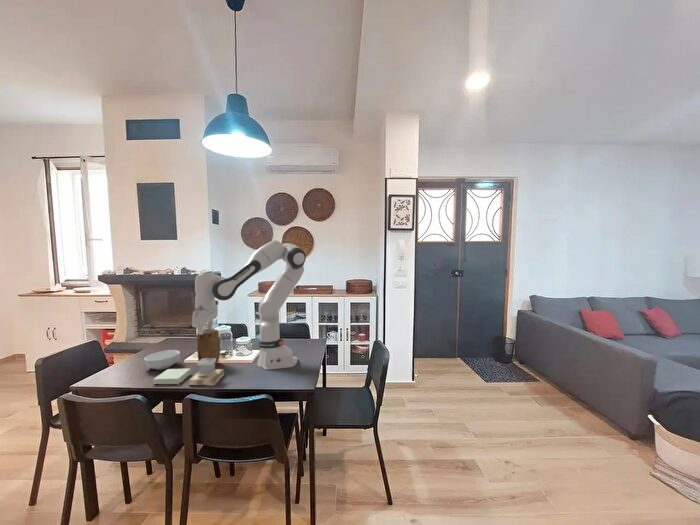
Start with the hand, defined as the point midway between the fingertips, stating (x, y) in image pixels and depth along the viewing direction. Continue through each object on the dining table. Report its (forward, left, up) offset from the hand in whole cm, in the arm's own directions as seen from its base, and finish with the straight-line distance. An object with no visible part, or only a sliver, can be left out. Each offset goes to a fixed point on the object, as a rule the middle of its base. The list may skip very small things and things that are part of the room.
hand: (205, 331), depth 144 cm
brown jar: (+8, -20, -25) cm, 33 cm away
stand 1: (+18, -2, -25) cm, 31 cm away
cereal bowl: (+33, -19, -25) cm, 45 cm away
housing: (0, 0, -22) cm, 22 cm away
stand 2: (0, 0, -25) cm, 25 cm away
